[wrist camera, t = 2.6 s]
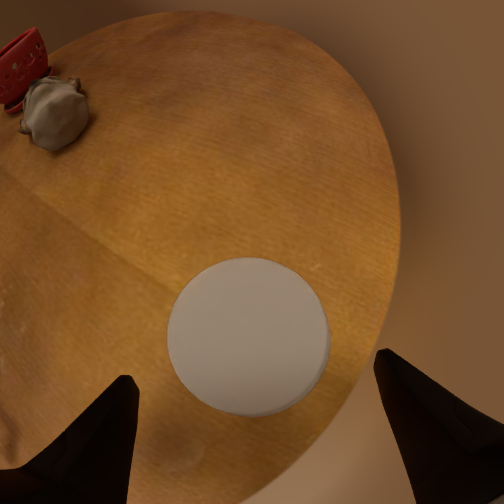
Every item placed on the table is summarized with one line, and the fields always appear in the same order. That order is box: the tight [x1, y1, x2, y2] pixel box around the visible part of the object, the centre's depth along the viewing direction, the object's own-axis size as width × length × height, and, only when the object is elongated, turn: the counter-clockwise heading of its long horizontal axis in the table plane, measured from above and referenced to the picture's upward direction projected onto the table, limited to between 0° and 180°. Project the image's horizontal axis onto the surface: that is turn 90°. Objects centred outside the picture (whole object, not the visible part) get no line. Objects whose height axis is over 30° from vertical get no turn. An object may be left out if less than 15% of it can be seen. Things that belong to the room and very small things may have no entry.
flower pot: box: [0, 27, 54, 114], centre depth 27 cm, size 13×13×12 cm
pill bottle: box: [167, 257, 331, 417], centre depth 13 cm, size 6×6×11 cm
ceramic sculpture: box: [19, 76, 89, 150], centre depth 24 cm, size 11×9×15 cm
